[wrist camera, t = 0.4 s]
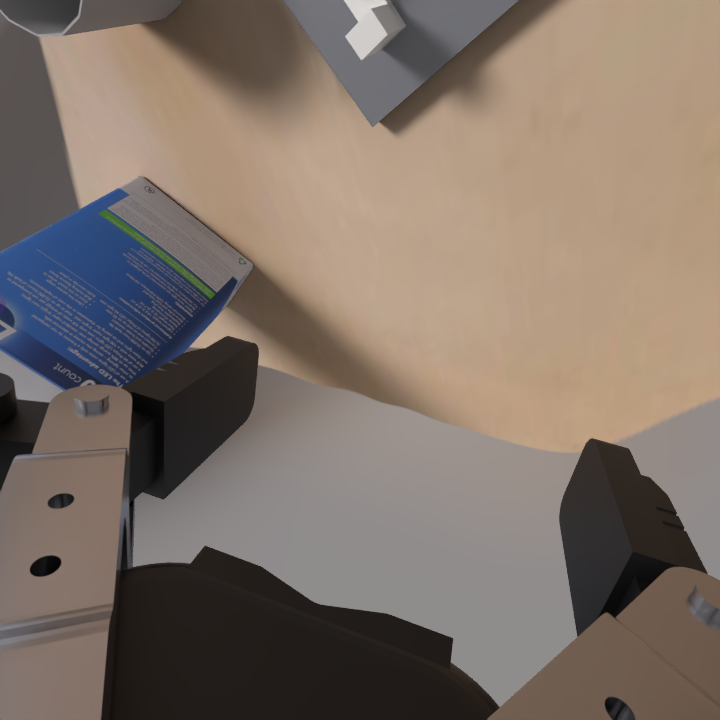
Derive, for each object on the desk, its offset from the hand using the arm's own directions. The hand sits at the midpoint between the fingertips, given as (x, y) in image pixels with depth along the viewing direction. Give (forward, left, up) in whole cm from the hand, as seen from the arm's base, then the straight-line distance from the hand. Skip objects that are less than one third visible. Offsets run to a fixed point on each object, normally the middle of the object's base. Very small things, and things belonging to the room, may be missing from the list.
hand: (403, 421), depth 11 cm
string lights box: (-8, -30, -29) cm, 43 cm away
